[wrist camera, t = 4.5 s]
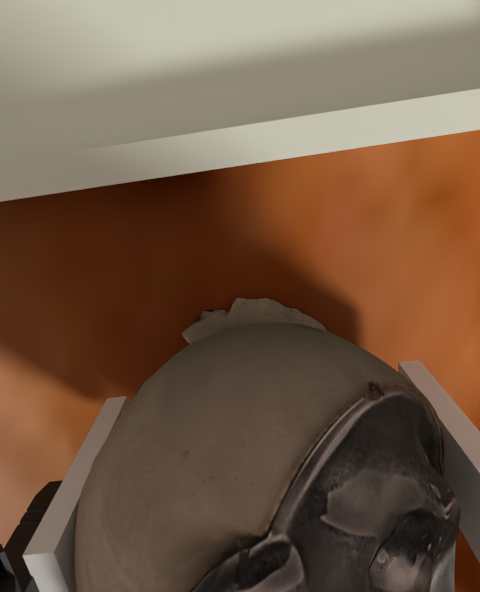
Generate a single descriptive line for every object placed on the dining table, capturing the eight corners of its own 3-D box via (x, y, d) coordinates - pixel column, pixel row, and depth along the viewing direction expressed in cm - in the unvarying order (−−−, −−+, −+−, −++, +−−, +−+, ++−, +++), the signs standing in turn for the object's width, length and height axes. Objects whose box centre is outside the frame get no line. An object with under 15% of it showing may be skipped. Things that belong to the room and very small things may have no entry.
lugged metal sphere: (421, 412, 18) (307, 212, 15) (713, 840, 7) (507, 416, 4) (228, 507, 20) (90, 345, 17) (219, 968, 9) (-186, 742, 6)
